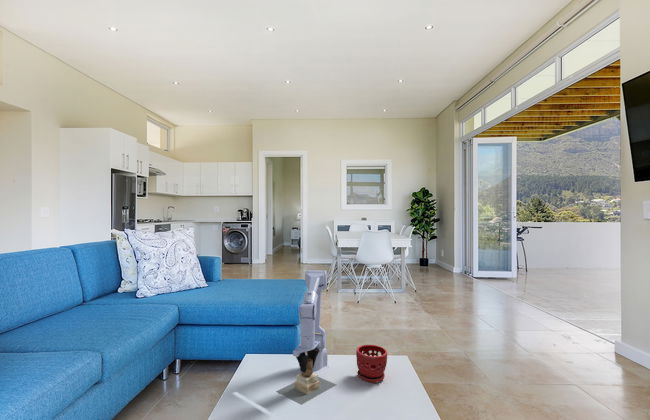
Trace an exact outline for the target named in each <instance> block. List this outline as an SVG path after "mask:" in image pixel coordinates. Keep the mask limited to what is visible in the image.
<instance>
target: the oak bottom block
mask: <svg viewBox="0 0 650 420" xmlns="http://www.w3.org/2000/svg"><path fill="white" fill-rule="evenodd" d="M294 382H295V389H297V390H299V391H301V392H303V393H305V394H309V393H311V392H313V391H314V390H316V389H318V388H320V381H317V382H316V383H314V384H312V385H310V386H308V387H307V386H305V385H302V384H300V383H298V382H296V381H294Z"/></svg>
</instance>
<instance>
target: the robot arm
mask: <svg viewBox="0 0 650 420" xmlns="http://www.w3.org/2000/svg"><path fill="white" fill-rule="evenodd" d="M304 281H305V283H306V287H307V290H306V291H305V293H304V294H303V299H302V303H301V304H300V305H299V306H298V317H299V319H298V320H299V327H300V330H299V332H300V334H299V342H300V343H299V344H298V346H297V348H296V349H293V350H292V351H293V352H292V356H294V357H295V359H296V360H297V362H298V366H299V370H300V372H304V373H305V372H306V365H307V360H308V358H311V359H312V360H313V372H314V371H320V370H322V369H323V368H325V367H326V368H329V366H328V350H327V348H326V346H327V336H326V335H327V334H326V330H325V329H324V328H323V327H321V314H322V296H323V294H322V293H323V290H325V289H327V286H328V271H327V270H326V269H324V270H323V269H322V270H321V269H320V270H316V269H315V270H314V269H313V270H312V269H307V270H305V274H304Z"/></svg>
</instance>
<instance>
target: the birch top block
mask: <svg viewBox="0 0 650 420" xmlns="http://www.w3.org/2000/svg"><path fill="white" fill-rule="evenodd" d="M318 377H319V374H317V373H315V372H313V374H312V375H309V376H305V375H302V374H301V373H298V374H297V375H296V382H298V383H300V384H302V385H305V386H307V387H308V386H310V385H312V384H314V383H316V382H317V381H318Z"/></svg>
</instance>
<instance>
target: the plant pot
mask: <svg viewBox="0 0 650 420" xmlns="http://www.w3.org/2000/svg"><path fill="white" fill-rule="evenodd" d="M370 351H371V352H370ZM355 352H356V353H355V354H356V366H357V369H358V370H357V371H356V373H357V376H358V378H359V379H360V380H362V381H363V382H366V383H367V382H368V383H375V384H376V383H379V382H381V381H383V380H384V378H385V376H386V375H385V370H386V368H387V364H388V351H387V349H386V348H384V347H383V346H379V345H376V344H362V345H359V346H358V347H357V348H356V351H355ZM379 353H380V355H379Z"/></svg>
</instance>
